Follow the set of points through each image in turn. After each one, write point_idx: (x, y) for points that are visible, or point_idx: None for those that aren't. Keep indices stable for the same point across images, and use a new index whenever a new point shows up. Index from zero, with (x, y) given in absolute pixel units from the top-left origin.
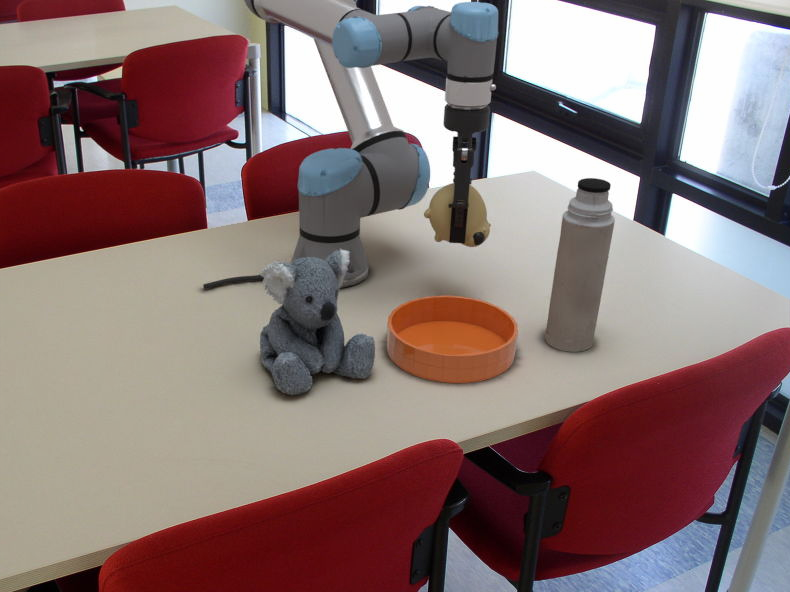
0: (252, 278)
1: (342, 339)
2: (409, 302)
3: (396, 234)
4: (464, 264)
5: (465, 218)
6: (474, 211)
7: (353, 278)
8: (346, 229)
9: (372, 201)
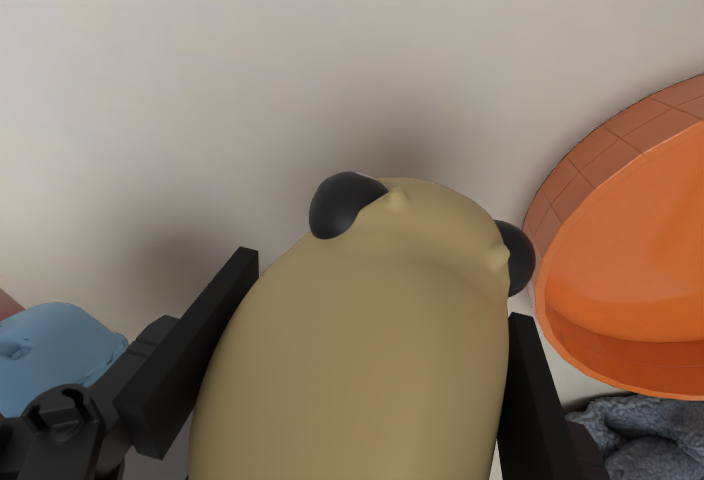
0: None
1: (688, 466)
2: (555, 340)
3: (79, 224)
4: (190, 98)
5: (570, 453)
6: (489, 407)
7: None
8: None
9: None
